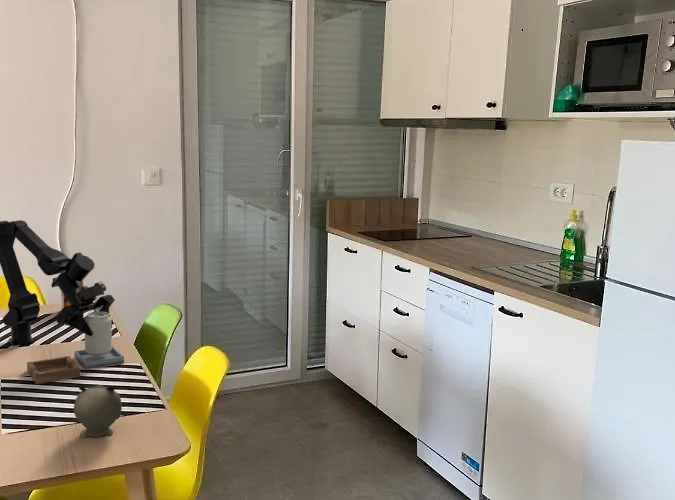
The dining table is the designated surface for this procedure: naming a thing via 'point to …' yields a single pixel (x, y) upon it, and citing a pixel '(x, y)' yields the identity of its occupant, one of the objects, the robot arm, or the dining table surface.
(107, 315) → the can
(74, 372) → the holder collar
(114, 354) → the tray
